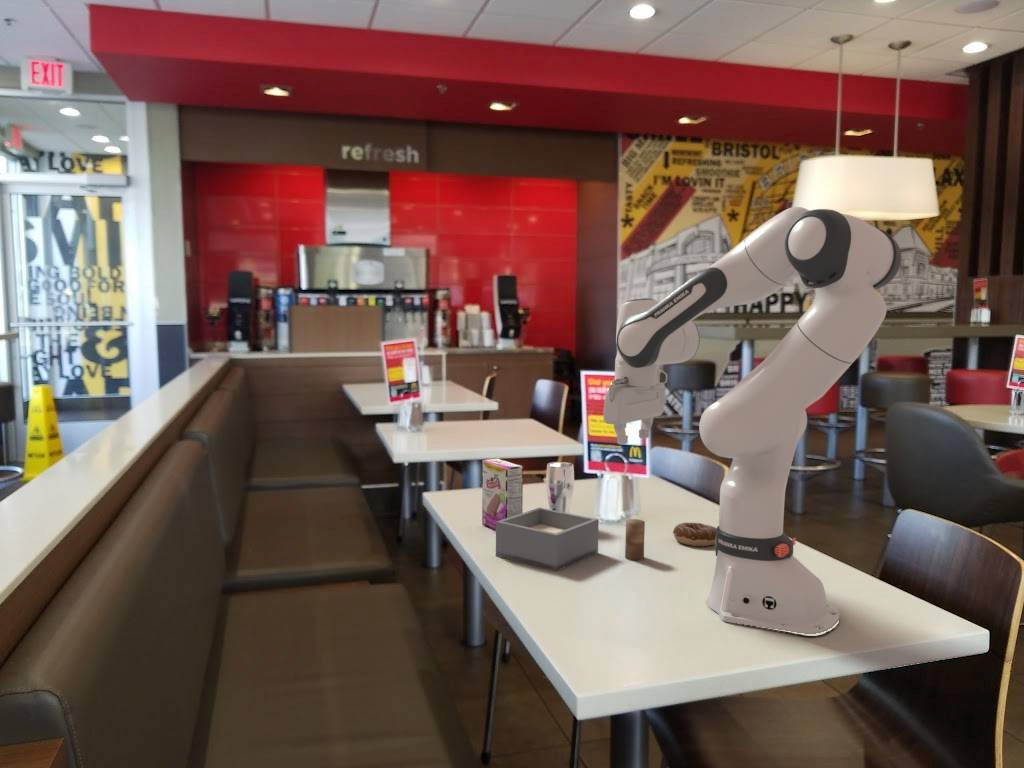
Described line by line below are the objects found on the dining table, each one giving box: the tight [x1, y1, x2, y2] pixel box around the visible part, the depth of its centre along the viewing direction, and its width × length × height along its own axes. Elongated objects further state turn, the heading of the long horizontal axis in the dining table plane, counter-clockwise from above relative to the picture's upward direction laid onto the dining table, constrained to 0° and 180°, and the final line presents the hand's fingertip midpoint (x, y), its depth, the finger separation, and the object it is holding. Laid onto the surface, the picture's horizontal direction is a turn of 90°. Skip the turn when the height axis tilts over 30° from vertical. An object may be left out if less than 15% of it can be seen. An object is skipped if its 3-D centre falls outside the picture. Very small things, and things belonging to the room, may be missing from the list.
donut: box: [672, 521, 717, 547], centre depth 185 cm, size 11×11×4 cm
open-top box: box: [495, 507, 600, 572], centre depth 174 cm, size 16×16×8 cm
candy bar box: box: [481, 458, 524, 531], centre depth 193 cm, size 11×5×16 cm, turn 34°
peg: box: [624, 518, 646, 562], centre depth 172 cm, size 4×4×8 cm
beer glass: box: [545, 461, 575, 514], centre depth 198 cm, size 7×7×15 cm
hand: (633, 441), depth 169 cm, fingers open, 8 cm apart
